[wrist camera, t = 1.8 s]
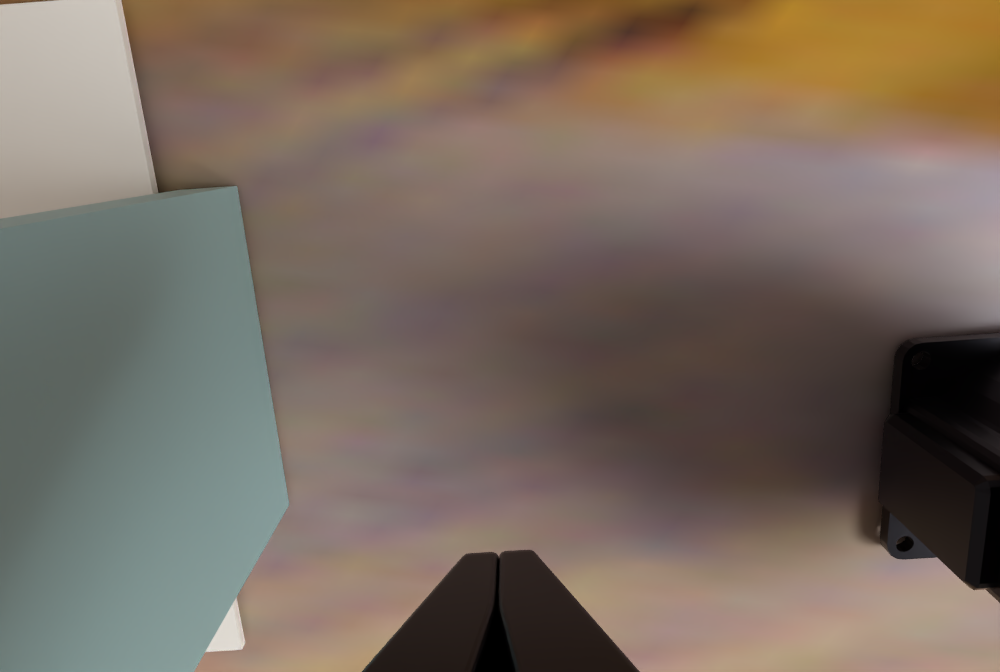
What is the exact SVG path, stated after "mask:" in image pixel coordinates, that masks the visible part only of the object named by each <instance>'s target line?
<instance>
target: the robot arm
mask: <svg viewBox="0 0 1000 672" xmlns="http://www.w3.org/2000/svg"><path fill="white" fill-rule="evenodd" d="M919 352H922V354H923V357H922V359H921V361H920V362H919V363H918V364H915V365H912V359H913V357H914V356H915V355H916V354H917V353H919ZM878 500H879V502H880V503H881V504H882V505H883V507H882V519H881V531H880V541H881V544H882V546H883V547H884V548H885V549H886V550H887V552H888V553H889V554H890V555H891V556H893V557H895V558H897V559H918V558H934V557H938V558H939V559H940V560H941V561H942V562H943V563H944V564H945V565H946V566H947V567H948V568H949V569H950V570H951V571H952V572H953V573H954V574H955V575H957V576H958V577H959V578H960V579H961V580H962V581H963V582H964V583H965V584H966V585H967V586H969V587H970V588H971V589H973V590H981V589H986V590H987V591H988V592H989V593H990V594H991V595H992V596H993V597H994V598H995V599H996V600H998V601H999V602H1000V333H989V334H974V335H959V336H944V337H930V338H915V339H911V340H907V341H906V342H904V343H903V344H901V345H900V347H899V348H898V349H897V351H896V354H895V359H894V371H893V383H892V396H891V408H890V415H889V416H888V418H887V419H886V421H885V422H884V432H883V444H882V457H881V470H880V482H879V495H878ZM904 536H906V538H905V540H904V541H903V542H902V543H900V544H896V542H897V540H898V539H899V538H901V537H904ZM362 672H640V671H639V670H638V669H637V668H636V667H635V666H634V665H633V664H632V662H631V661H630V660H629V659H628V658H627V657H626V656H625V654H624V653H623V652H622V651H621V650H620V649H619V648H618V646H617V645H616V644H615V643H614V642H613V641H612V640H611V638H610V637H609V636H608V635H607V634H606V633H605V632H604V631H603V629H602V628H601V627H600V626H599V625H598V624H597V623H596V621H595V620H594V619H593V618H592V617H591V616H590V615H589V613H588V612H587V611H586V610H585V609H584V608H583V607H582V606H581V604H580V603H579V602H578V601H577V600H576V599H575V598H574V596H573V595H572V594H571V593H570V592H569V591H568V590H567V588H566V587H565V586H564V585H563V584H562V583H561V582H560V580H559V579H558V578H557V577H556V576H555V575H554V574H553V573H552V571H551V570H550V569H549V568H548V567H547V566H546V565H545V563H544V562H543V561H542V560H541V559H540V558H539V557H538V555H537V554H536V553H535V552H534V551H532V550H517V551H504V552H502V553H501V554H500V556H498V555H497V554H496V553H494V552H484V553H468V554H465V555H464V556H463V557H462V558H461V559H460V560H459V561H458V562H457V564H456V565H455V566H454V567H453V568H452V569H451V570H450V572H449V573H448V574H447V575H446V576H445V577H444V578H443V580H442V581H441V582H440V583H439V584H438V585H437V586H436V588H435V589H434V590H433V591H432V592H431V593H430V594H429V596H428V597H427V598H426V599H425V600H424V601H423V602H422V604H421V605H420V606H419V607H418V608H417V609H416V610H415V612H414V613H413V614H412V615H411V616H410V617H409V618H408V619H407V621H406V622H405V623H404V624H403V625H402V626H401V627H400V629H399V630H398V631H397V632H396V633H395V634H394V635H393V637H392V638H391V639H390V640H389V641H388V642H387V643H386V645H385V646H384V647H383V648H382V649H381V650H380V651H379V653H378V654H377V655H376V656H375V657H374V658H373V659H372V661H371V662H370V663H369V664H368V665H367V666H366V667H365V669H364V670H363V671H362Z"/></svg>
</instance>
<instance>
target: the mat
mask: <svg viewBox="0 0 1000 672" xmlns="http://www.w3.org/2000/svg"><path fill="white" fill-rule="evenodd" d="M156 193H158V188H157V183H156V178H155V172H154V167H153V162H152V157H151V152H150V147H149V141H148V136H147V131H146V126H145V121H144V115H143V110H142V105H141V100H140V95H139V90H138V84H137V79H136V74H135V69H134V64H133V58H132V53H131V48H130V43H129V38H128V33H127V27H126V22H125V17H124V12H123V7H122V1H121V0H56V1H43V2H29V3H16V4H3V5H0V219H2V218H8V217H14V216H20V215H26V214H33V213H39V212H45V211H51V210H57V209H64V208H70V207H76V206H82V205H88V204H94V203H101V202H107V201H113V200H119V199H125V198H132V197H138V196H144V195H150V194H156ZM244 644H245V639H244V634H243V629H242V623H241V618H240V613H239V608H238V603H237V597H236V599H235V601H234V602H233V604H232V606H231V608H230V609H229V611H228V613H227V615H226V616H225V618H224V620H223V622H222V623H221V625H220V627H219V629H218V630H217V632H216V634H215V636H214V637H213V639H212V641H211V643H210V644H209V646H208V648H207V650H206V651H205V652H212V651H229V650H242V648H243V646H244Z"/></svg>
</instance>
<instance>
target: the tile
mask: <svg viewBox="0 0 1000 672" xmlns="http://www.w3.org/2000/svg"><path fill="white" fill-rule="evenodd" d="M288 506H289V500H288V494H287V487H286V481H285V475H284V469H283V463H282V457H281V451H280V445H279V439H278V433H277V426H276V420H275V414H274V408H273V402H272V396H271V390H270V384H269V378H268V372H267V365H266V359H265V353H264V347H263V341H262V335H261V329H260V323H259V317H258V311H257V304H256V298H255V292H254V286H253V280H252V274H251V268H250V262H249V256H248V250H247V243H246V237H245V231H244V225H243V219H242V213H241V207H240V201H239V195H238V189H237V186H226V187H212V188H198V189H184V190H175V191H169V192H162V193H156V194H150V195H144V196H138V197H132V198H125V199H119V200H113V201H107V202H101V203H94V204H88V205H82V206H76V207H70V208H64V209H57V210H51V211H45V212H39V213H33V214H26V215H20V216H14V217H8V218H2V219H0V672H194V671H195V669H196V667H197V665H198V664H199V662H200V660H201V658H202V657H203V655H204V653H205V651H206V650H207V648H208V646H209V644H210V643H211V641H212V639H213V637H214V636H215V634H216V632H217V630H218V629H219V627H220V625H221V623H222V622H223V620H224V618H225V616H226V615H227V613H228V611H229V609H230V608H231V606H232V604H233V602H234V601H235V599H236V597H237V595H238V594H239V592H240V590H241V588H242V587H243V585H244V583H245V581H246V580H247V578H248V576H249V574H250V573H251V571H252V569H253V567H254V566H255V564H256V562H257V560H258V559H259V557H260V555H261V553H262V552H263V550H264V548H265V546H266V545H267V543H268V541H269V539H270V538H271V536H272V534H273V532H274V531H275V529H276V527H277V525H278V524H279V522H280V520H281V518H282V517H283V515H284V513H285V511H286V510H287V508H288Z"/></svg>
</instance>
